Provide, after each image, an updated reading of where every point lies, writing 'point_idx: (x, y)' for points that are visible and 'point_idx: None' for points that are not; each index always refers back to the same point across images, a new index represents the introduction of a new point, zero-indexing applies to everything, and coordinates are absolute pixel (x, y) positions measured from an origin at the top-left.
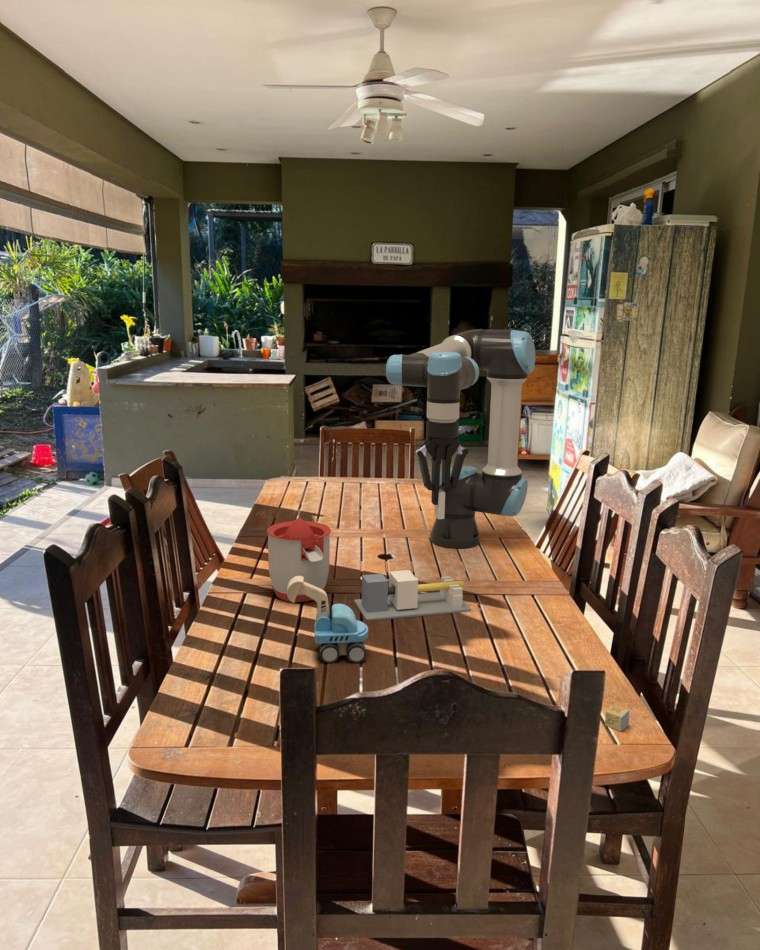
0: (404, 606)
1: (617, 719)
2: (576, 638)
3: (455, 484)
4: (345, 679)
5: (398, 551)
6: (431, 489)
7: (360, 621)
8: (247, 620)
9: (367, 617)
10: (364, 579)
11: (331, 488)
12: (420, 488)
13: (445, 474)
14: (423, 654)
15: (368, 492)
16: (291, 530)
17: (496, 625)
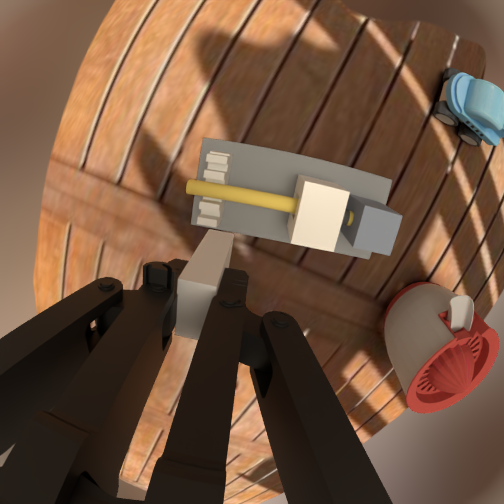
0: (323, 180)
1: None
2: (123, 14)
3: (96, 288)
4: (467, 57)
5: None
6: (259, 319)
7: (459, 100)
8: (490, 257)
9: (387, 185)
10: (395, 237)
11: None
12: None
13: (135, 358)
14: (365, 41)
15: None
16: (473, 368)
17: (198, 73)
